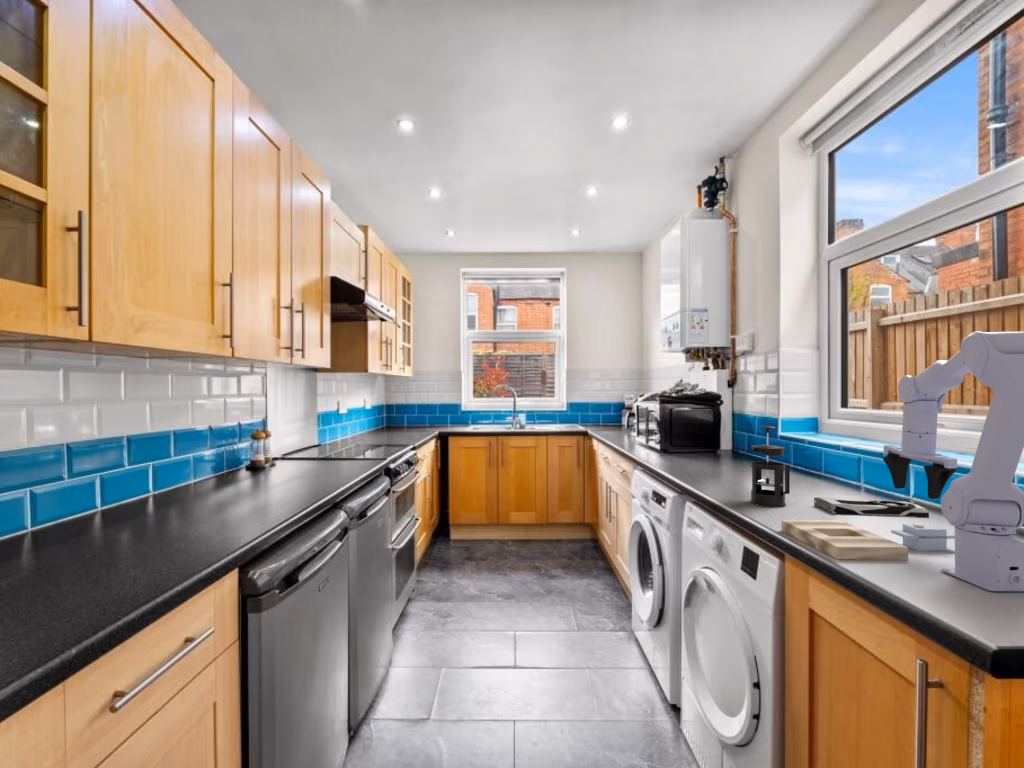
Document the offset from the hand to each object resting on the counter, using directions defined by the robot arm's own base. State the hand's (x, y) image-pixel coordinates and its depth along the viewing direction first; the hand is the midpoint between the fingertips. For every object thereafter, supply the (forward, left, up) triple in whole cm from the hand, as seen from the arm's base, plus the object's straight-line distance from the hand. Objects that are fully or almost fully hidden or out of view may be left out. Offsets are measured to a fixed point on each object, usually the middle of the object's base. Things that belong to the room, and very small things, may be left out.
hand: (916, 493), depth 106 cm
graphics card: (+29, -11, -12) cm, 33 cm away
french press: (+38, +12, -11) cm, 42 cm away
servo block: (-2, 0, -11) cm, 11 cm away
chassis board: (0, +17, -11) cm, 20 cm away
